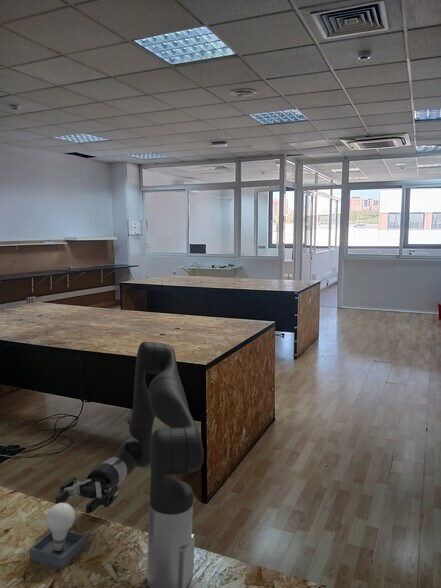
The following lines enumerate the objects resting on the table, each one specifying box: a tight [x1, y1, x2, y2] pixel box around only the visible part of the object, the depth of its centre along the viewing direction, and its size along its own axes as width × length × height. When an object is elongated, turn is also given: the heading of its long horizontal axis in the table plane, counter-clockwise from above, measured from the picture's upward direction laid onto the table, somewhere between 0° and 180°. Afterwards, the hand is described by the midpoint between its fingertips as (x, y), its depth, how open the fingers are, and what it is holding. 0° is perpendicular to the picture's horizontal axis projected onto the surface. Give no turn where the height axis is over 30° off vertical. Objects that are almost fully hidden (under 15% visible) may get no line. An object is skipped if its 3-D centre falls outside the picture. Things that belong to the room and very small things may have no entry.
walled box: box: [29, 529, 87, 570], centre depth 103 cm, size 9×9×3 cm
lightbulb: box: [45, 502, 76, 551], centre depth 103 cm, size 6×6×11 cm
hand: (71, 506), depth 107 cm, fingers open, 8 cm apart
